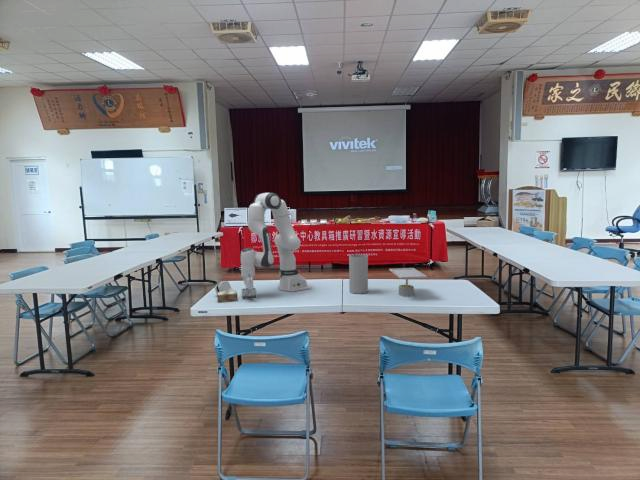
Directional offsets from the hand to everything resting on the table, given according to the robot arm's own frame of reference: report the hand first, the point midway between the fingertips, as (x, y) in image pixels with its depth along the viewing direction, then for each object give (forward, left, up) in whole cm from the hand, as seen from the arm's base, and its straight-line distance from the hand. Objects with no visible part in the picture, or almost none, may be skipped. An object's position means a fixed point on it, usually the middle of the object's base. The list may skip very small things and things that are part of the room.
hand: (248, 293), depth 284 cm
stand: (+14, +1, -3) cm, 14 cm away
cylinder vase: (-73, +11, -3) cm, 74 cm away
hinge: (+15, -15, -3) cm, 21 cm away
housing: (0, 0, -3) cm, 3 cm away
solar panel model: (-100, +29, -3) cm, 104 cm away
